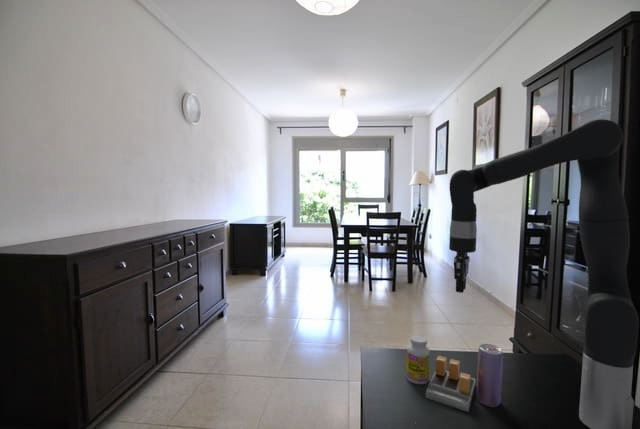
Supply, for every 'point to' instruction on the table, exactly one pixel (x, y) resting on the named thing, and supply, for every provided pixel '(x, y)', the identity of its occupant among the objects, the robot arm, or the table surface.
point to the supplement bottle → (418, 360)
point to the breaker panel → (449, 391)
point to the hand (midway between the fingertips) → (460, 290)
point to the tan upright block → (464, 383)
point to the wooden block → (441, 365)
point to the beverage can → (489, 375)
